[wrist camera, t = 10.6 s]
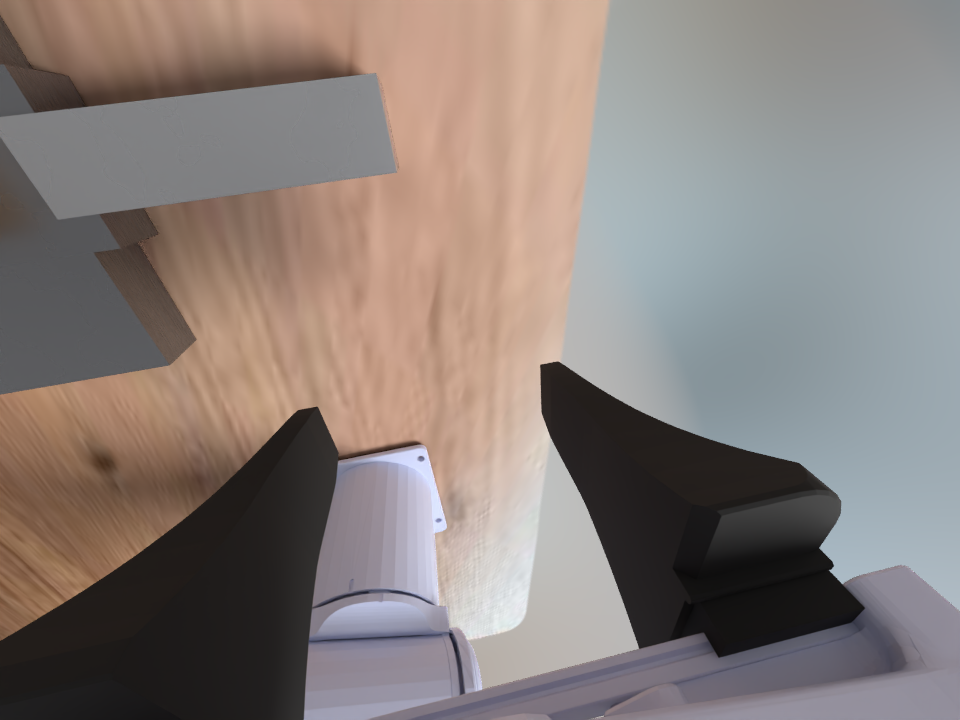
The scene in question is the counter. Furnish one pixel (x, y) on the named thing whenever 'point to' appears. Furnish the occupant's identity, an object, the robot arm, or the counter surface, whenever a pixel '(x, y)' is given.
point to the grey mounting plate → (142, 202)
